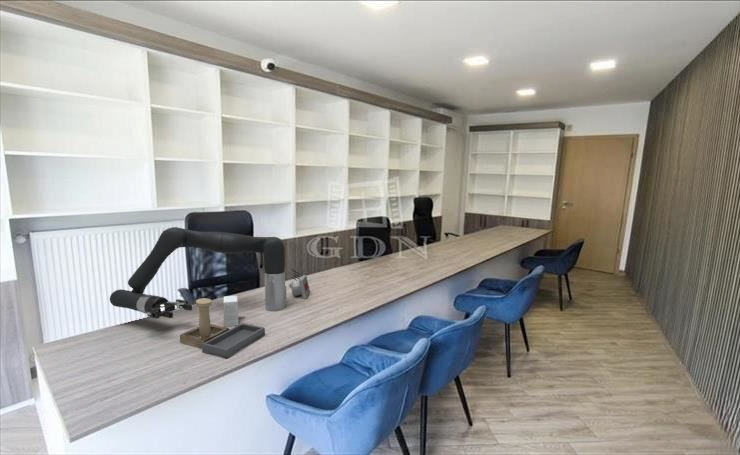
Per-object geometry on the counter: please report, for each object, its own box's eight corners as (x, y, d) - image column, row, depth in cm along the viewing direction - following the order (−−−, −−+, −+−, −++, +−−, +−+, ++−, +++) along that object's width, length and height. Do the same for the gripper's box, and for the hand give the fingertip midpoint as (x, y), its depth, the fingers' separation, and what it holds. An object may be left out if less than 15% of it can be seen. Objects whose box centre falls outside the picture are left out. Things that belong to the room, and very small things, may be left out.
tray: (242, 330, 143) (242, 322, 142) (264, 334, 139) (264, 327, 138) (202, 352, 124) (201, 344, 124) (226, 358, 120) (226, 350, 120)
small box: (224, 319, 153) (223, 296, 151) (238, 318, 155) (237, 294, 153) (223, 327, 145) (222, 302, 144) (238, 325, 147) (237, 301, 146)
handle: (207, 334, 138) (206, 297, 136) (215, 339, 134) (214, 301, 132) (195, 338, 134) (193, 300, 132) (202, 343, 130) (200, 304, 128)
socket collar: (206, 330, 142) (205, 323, 142) (229, 335, 137) (229, 328, 137) (180, 342, 131) (179, 335, 130) (204, 349, 126) (204, 341, 126)
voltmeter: (316, 297, 183) (316, 278, 182) (295, 301, 177) (295, 282, 176) (296, 284, 205) (296, 267, 204) (277, 287, 199) (277, 270, 198)
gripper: (134, 301, 136) (164, 308, 130) (168, 291, 149) (196, 296, 143) (135, 320, 137) (165, 327, 131) (168, 308, 150) (197, 314, 144)
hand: (182, 311), depth 137 cm, fingers open, 8 cm apart
